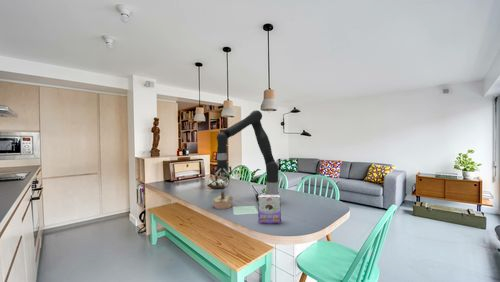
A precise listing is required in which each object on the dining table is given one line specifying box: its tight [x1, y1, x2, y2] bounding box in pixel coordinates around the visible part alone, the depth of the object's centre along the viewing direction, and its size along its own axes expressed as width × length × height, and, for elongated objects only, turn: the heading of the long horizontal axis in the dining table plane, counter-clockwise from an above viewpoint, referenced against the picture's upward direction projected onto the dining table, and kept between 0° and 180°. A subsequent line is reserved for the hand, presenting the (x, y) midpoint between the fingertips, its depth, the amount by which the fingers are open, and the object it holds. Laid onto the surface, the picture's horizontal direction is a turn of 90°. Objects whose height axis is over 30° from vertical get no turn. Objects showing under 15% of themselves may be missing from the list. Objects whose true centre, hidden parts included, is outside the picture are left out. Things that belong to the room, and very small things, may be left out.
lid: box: [212, 191, 233, 203], centre depth 163 cm, size 15×15×6 cm
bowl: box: [213, 201, 232, 210], centre depth 163 cm, size 13×13×6 cm
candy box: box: [257, 194, 282, 225], centre depth 133 cm, size 14×6×16 cm, turn 84°
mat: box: [232, 205, 258, 216], centre depth 154 cm, size 17×17×1 cm
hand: (222, 180), depth 163 cm, fingers open, 8 cm apart
